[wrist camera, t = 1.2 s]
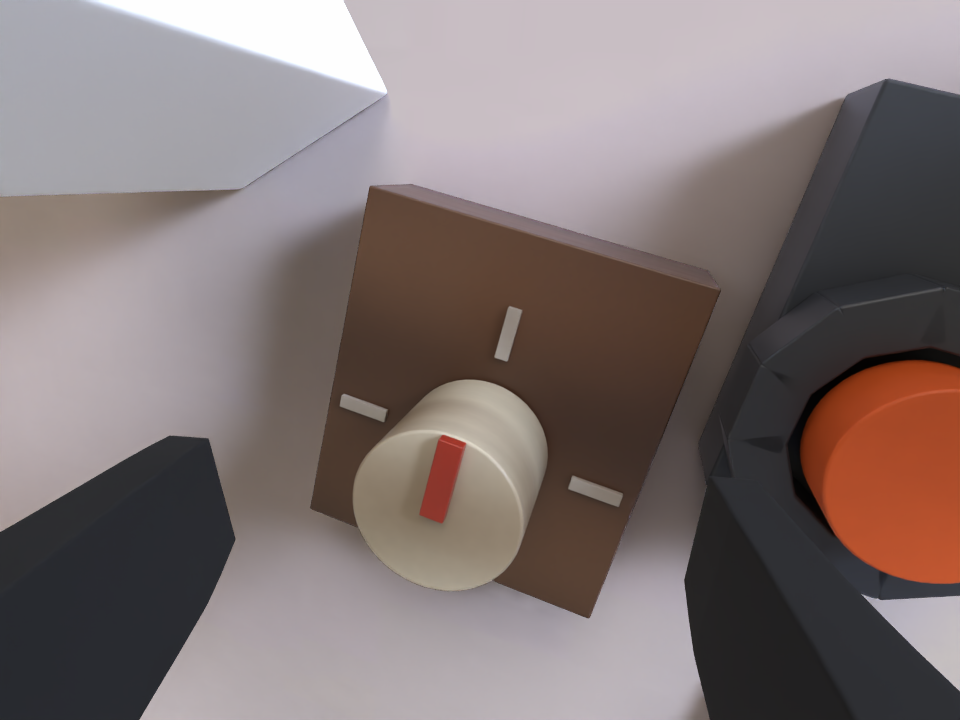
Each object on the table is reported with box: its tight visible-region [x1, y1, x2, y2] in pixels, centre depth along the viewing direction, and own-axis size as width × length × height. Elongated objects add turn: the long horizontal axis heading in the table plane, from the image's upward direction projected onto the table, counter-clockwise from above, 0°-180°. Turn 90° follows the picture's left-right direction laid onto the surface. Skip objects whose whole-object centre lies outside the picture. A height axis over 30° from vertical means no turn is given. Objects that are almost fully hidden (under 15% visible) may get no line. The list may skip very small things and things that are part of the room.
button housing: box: [699, 79, 960, 600], centre depth 14 cm, size 10×7×4 cm
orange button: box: [800, 360, 960, 584], centre depth 12 cm, size 4×4×2 cm
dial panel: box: [310, 184, 721, 618], centre depth 18 cm, size 10×9×3 cm
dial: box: [353, 380, 548, 591], centre depth 15 cm, size 4×4×4 cm
